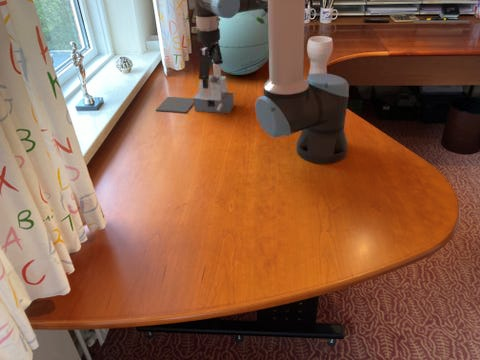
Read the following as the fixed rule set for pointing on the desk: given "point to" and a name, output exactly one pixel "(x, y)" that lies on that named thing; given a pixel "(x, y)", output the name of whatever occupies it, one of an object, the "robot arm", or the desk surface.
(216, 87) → the collar
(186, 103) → the mat
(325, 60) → the cup
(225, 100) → the vise
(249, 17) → the globe
